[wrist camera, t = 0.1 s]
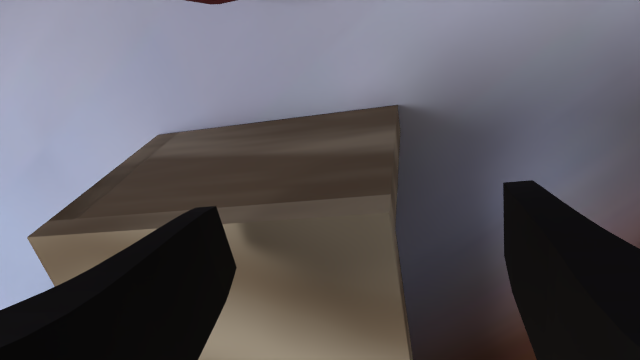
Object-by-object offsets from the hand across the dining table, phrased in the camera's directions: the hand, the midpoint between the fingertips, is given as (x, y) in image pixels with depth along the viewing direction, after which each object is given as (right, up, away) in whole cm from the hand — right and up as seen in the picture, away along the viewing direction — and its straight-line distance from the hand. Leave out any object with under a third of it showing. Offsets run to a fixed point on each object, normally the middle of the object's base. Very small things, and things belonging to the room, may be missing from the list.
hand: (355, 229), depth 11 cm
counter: (-1, -4, +14) cm, 15 cm away
